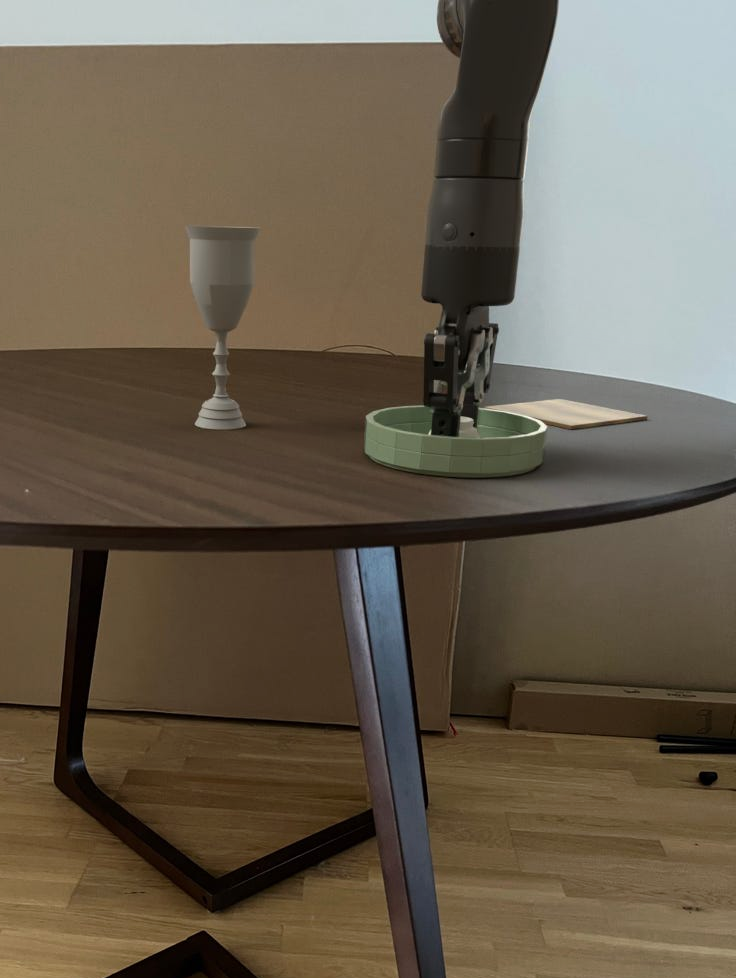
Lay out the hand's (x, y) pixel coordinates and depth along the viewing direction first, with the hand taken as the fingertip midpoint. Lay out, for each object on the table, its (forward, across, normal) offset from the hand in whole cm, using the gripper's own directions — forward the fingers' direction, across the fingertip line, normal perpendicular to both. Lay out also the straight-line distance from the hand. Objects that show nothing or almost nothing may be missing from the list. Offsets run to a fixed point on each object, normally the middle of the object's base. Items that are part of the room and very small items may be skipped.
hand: (452, 450), depth 89 cm
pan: (+1, 0, 0) cm, 1 cm away
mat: (+1, +28, -4) cm, 28 cm away
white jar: (0, 0, 0) cm, 0 cm away
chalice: (+1, +2, +24) cm, 24 cm away
